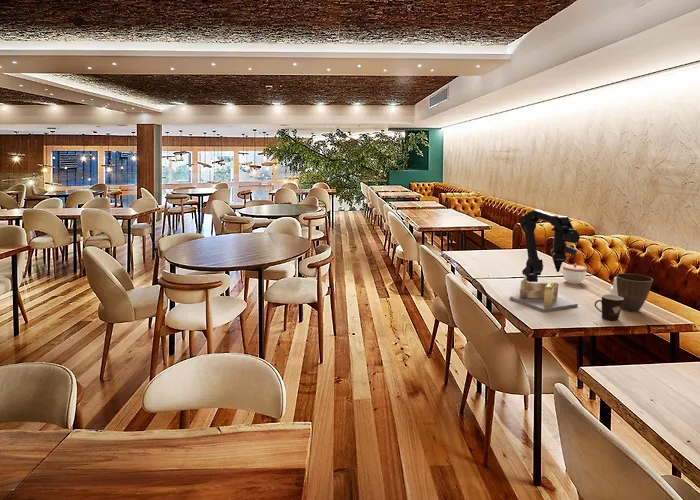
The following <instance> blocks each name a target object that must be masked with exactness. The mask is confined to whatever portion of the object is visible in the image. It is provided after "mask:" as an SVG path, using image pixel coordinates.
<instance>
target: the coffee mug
mask: <svg viewBox="0 0 700 500" xmlns="http://www.w3.org/2000/svg"><path fill="white" fill-rule="evenodd" d="M623 299H624V298H622V297H620V296H616V295H610V294H601V299H599V300H598V299H597V300H596V301H595V302H594V307H595V309H596V310H597V311H599V312H601V318H602V320H605V321H608V320H609V321H610V322H617V320H619V317H620V313H621V310H622V309H621V307H622V303H623ZM598 302H601V309H599V308H598V306H597V303H598Z"/></svg>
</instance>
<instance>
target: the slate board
mask: <svg viewBox="0 0 700 500" xmlns="http://www.w3.org/2000/svg"><path fill="white" fill-rule="evenodd" d="M510 300H511V301H513V302H515V303H518V304H521V305H523V306H526V307H529V308H531V309H533V310H537V311H539V312H541V313H550V312H555V311H560V310H567V309H573V308H577V307H578V306H579V304H578V303H576V302H573V301H570V300H568V299H564V298H562V297H558V296H557V299H553V300H552V306H551V307H547V306H543V305H544V298H521V297H520V294H518V295H513V296H511V295H510V296H509V301H510Z"/></svg>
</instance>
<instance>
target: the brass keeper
mask: <svg viewBox="0 0 700 500" xmlns="http://www.w3.org/2000/svg"><path fill="white" fill-rule="evenodd" d="M549 283H550V284H548V285H547V286H545V295H544V305H543V306H547V307H551V306H552V300H553V290H554V288H555V287H556V286H557V284H553V283H554V282H549Z"/></svg>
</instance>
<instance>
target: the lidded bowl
mask: <svg viewBox="0 0 700 500" xmlns="http://www.w3.org/2000/svg"><path fill="white" fill-rule="evenodd" d="M587 270H588V268H587V267H586V266H583V265H578V264H577V263H574V264H564V265H562V277H563V278H564V280H565V281H566V283H568V284H572V285H580V284H581V283H582V282H583V281H584V280H585V278H586V276H587Z"/></svg>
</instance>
